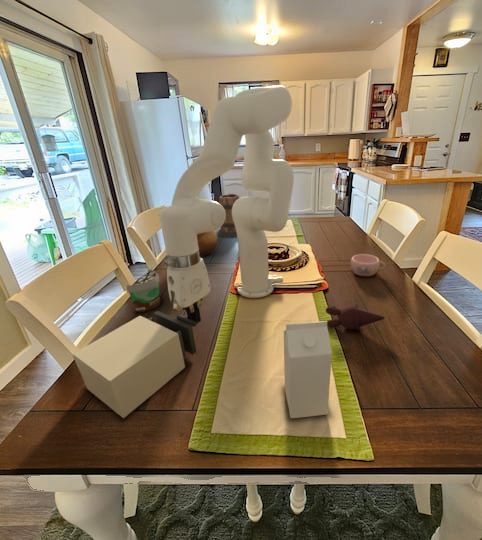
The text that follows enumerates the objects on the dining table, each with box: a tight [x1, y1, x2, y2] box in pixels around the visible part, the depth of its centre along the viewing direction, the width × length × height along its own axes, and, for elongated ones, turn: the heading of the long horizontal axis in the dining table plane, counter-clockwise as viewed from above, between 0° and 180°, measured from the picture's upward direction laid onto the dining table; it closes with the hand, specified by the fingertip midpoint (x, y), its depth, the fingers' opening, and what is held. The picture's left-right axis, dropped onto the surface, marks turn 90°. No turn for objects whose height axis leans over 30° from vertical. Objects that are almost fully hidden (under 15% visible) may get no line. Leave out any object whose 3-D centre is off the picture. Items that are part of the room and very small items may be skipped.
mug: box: [350, 253, 386, 277], centre depth 106 cm, size 12×10×6 cm
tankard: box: [216, 193, 240, 238], centre depth 154 cm, size 24×17×20 cm
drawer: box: [147, 310, 198, 359], centre depth 68 cm, size 19×13×8 cm
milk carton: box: [283, 320, 333, 419], centre depth 53 cm, size 7×7×19 cm
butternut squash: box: [197, 197, 219, 257], centre depth 127 cm, size 14×13×25 cm
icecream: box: [325, 304, 386, 331], centre depth 77 cm, size 7×7×15 cm
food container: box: [126, 268, 161, 313], centre depth 91 cm, size 12×6×10 cm, turn 168°
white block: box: [72, 315, 186, 419], centre depth 63 cm, size 16×14×10 cm
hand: (194, 321), depth 77 cm, fingers closed
